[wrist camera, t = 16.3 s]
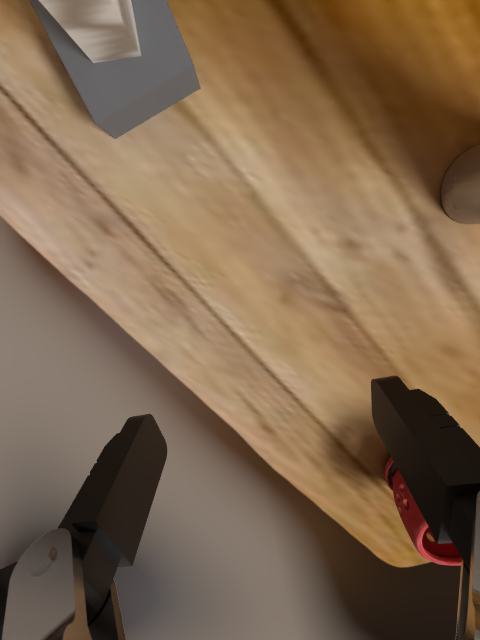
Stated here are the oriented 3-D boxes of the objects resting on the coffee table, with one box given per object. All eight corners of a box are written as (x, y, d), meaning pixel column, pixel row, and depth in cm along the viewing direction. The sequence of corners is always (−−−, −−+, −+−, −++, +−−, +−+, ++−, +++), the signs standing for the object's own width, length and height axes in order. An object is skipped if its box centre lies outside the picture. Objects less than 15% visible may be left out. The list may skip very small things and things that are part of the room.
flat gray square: (149, -33, 28) (130, -87, 24) (200, 90, 32) (193, 64, 27) (59, 29, 30) (24, -10, 25) (116, 140, 33) (95, 123, 28)
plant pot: (363, 456, 47) (401, 527, 35) (435, 423, 44) (500, 488, 33) (393, 503, 50) (437, 582, 39) (461, 474, 48) (530, 549, 36)
